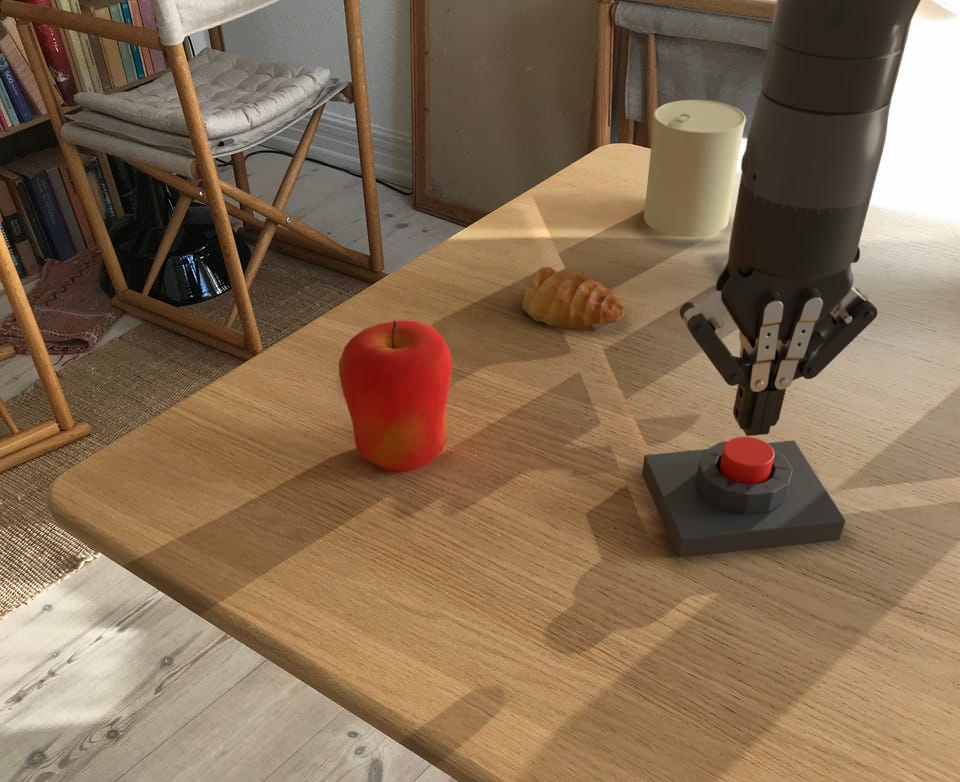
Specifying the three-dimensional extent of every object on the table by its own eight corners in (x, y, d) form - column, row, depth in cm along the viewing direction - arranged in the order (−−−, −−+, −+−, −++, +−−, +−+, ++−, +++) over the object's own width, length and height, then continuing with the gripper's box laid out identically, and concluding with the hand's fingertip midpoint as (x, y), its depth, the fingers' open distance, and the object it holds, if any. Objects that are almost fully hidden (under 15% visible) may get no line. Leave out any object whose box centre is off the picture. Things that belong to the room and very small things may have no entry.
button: (760, 454, 77) (764, 434, 75) (777, 483, 74) (781, 463, 73) (712, 458, 76) (716, 438, 75) (728, 488, 74) (732, 468, 73)
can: (623, 228, 112) (634, 110, 103) (678, 203, 116) (693, 87, 107) (690, 257, 107) (707, 135, 98) (745, 229, 111) (766, 110, 103)
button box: (789, 463, 82) (799, 419, 79) (838, 544, 75) (852, 500, 72) (641, 478, 81) (646, 435, 78) (677, 562, 74) (685, 518, 71)
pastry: (635, 313, 99) (639, 275, 96) (605, 346, 95) (608, 307, 92) (547, 291, 102) (549, 253, 99) (514, 321, 98) (515, 283, 95)
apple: (395, 414, 87) (385, 281, 79) (476, 447, 84) (475, 312, 75) (327, 464, 82) (308, 327, 74) (410, 501, 79) (400, 363, 70)
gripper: (717, 211, 57) (676, 469, 69) (944, 194, 58) (864, 451, 71) (678, 159, 62) (647, 408, 75) (887, 144, 64) (822, 391, 76)
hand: (753, 428), depth 73 cm, fingers closed
